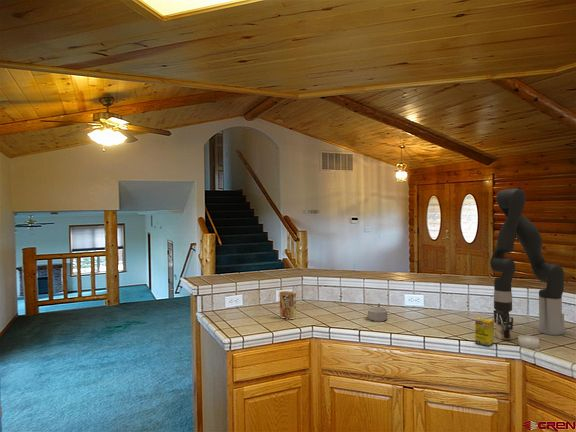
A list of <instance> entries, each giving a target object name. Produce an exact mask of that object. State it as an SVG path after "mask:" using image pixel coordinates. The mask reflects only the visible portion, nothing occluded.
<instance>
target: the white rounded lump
mask: <svg viewBox="0 0 576 432" xmlns="http://www.w3.org/2000/svg"><path fill="white" fill-rule="evenodd" d="M517 345H518V346H520V347H521V348H525V349H529V350H530V349H532V350H535V349H536V350H537V349H539V348H540V338H539V337H537V336H533V335H529V334H526V335H525V334H520V335H518V336H517Z"/></svg>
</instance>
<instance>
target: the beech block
mask: <svg viewBox="0 0 576 432" xmlns="http://www.w3.org/2000/svg"><path fill="white" fill-rule="evenodd" d="M505 326H506V325H505ZM511 332H512V330H510V338H504V327H503V325H502V324H496V323H495V337H496V338H497V339H499V340H501V339H511V340H512V338H511V337H512V333H511Z"/></svg>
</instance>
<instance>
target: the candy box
mask: <svg viewBox="0 0 576 432" xmlns="http://www.w3.org/2000/svg"><path fill="white" fill-rule="evenodd" d="M297 313H298V312H297V291H289V290H288V291H287V290H281V291H279V318H280V317H285V318H295V317H297Z"/></svg>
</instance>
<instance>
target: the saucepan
mask: <svg viewBox="0 0 576 432" xmlns="http://www.w3.org/2000/svg"><path fill="white" fill-rule="evenodd" d="M366 310H367V319H369V320H370V321H372V320H373V322H378V321H380V322H384V320H385V321H386V320H388V311H389V310H388V308H386V307H381V303H378V304H377V306H372V307H368V308H366Z"/></svg>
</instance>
